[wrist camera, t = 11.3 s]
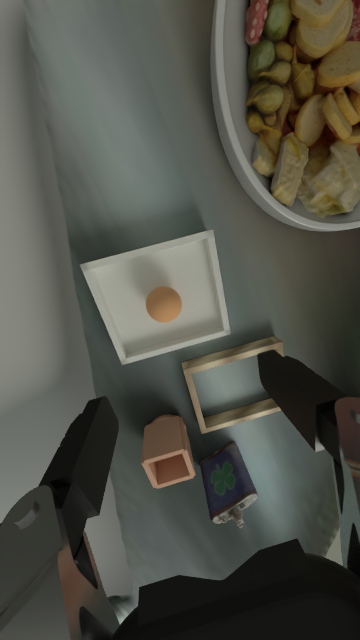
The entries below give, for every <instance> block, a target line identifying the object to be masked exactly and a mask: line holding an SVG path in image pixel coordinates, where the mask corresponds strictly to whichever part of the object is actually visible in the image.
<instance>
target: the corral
mask: <svg viewBox="0 0 360 640" xmlns="http://www.w3.org/2000/svg"><path fill="white" fill-rule="evenodd" d="M272 349H273V350H275V351H276V352H278V353H279V354H280V355H282V356H283V357H284V355H283V341H281V340H280V339H278V338H277V337H275V336H272V337H268V338H265V339H261V340H258V341H254V342H251V343H247V344H244V345H240V346H237V347H234V348H230V349H227V350H223V351H220V352H216V353H213V354H209V355H206V356H202V357H199V358H195V359H192V360H188V361H185V362H181V363H182V367H183V371H184V375H185V378H186V382H187V385H188V388H189V392H190V395H191V399H192V402H193V406H194V409H195V412H196V416H197V419H198V423H199V426H200V430H201V433H202V434H204V433H207V432H211V431H214V430H217V429H221V428H224V427H227V426H231V425H234V424H237V423H241V422H244V421H247V420H251V419H254V418H257V417H261V416H264V415H267V414H271V413H274V412H277V411H281V409H280V408H279V406H278V405H277V404H276V403H275V401H274V400H273V399H272V398H270V399H267V400H263V401H260V402H256V403H253V404H250V405H246V406H243V407H240V408H236V409H233V410H230V411H226V412H223V413H219V414H216V415H213V416H209V417H206V418H203V415H202V412H201V408H200V405H199V401H198V397H197V394H196V390H195V387H194V383H193V379H192V376H191V374H192V373H195V372H199V371H202V370H206V369H209V368H213V367H216V366H219V365H223V364H226V363H230V362H233V361H237V360H240V359H244V358H247V357H251V356H254V355H257V354H258V353H261V352H265V351H268V350H272Z"/></svg>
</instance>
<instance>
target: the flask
mask: <svg viewBox="0 0 360 640" xmlns="http://www.w3.org/2000/svg"><path fill="white" fill-rule="evenodd" d="M224 446H225V447H223V448H221V449H219V450H217V451H216V452H215V453H214V455H211V456H210V457H209V458H206V459H205V460H203V461H201V463H200V467H201V473H202V478H203V483H204V488H205V492H206V499H207V504H208V509H209V514H210V519H211V521H212V522H214V523H216V524H219V523H221V522H222V523H225V522H227V521H224V520H230V519H232V520H235V521H236V522H237V524H238V526H239V525H240V526H239V528H242V527H243V526H244V524H242V523H243V522H244V521H243V518H242V515H243V513H242V512H241V511H242V510H243V509H245V508H246V507H248V506H249V505H250V504H251V503H253V502H254V501H255V500H256V499H257V498H258V494H257V492H256V489H255V487H254V484H253V482H252V480H251V477H250V475H249V473H248V470H247V468H246V465H245V463H244V461H243V458H242V456H241V454H240V451H239V449H238V446H237V444H236V443H234V442H232V443H228V444H226V445H224ZM245 523H246V521H245ZM238 526H237V527H238Z"/></svg>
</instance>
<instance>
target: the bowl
mask: <svg viewBox="0 0 360 640" xmlns="http://www.w3.org/2000/svg"><path fill="white" fill-rule="evenodd" d="M210 62H211V88H212V98H213V106H214V113H215V118H216V123H217V128H218V132H219V136H220V139H221V142H222V146H223V149H224V152H225V154H226V157H227V159H228V162H229V164H230V166H231V168H232V170H233V172H234V174H235V176H236V178H237V179H238V181H239V183H240V184H241V186H242V187H243V189H244V190H245V191H246V193H247V194H248V195H249V196H250V198H251V199H252V200H253V201H254V202H255V203H256V204H257V205H258V206H259V207H260V208H261V209H263V210H264V211H265V212H266V213H268V214H269V215H271V216H272V217H274V218H275V219H277V220H279V221H281V222H283V223H285V224H287V225H290V226H293V227H296V228H300V229H304V230H309V231H324V232H328V231H340V230H347V229H353V228H358V227H360V0H215V5H214V13H213V22H212V33H211V55H210Z"/></svg>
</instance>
